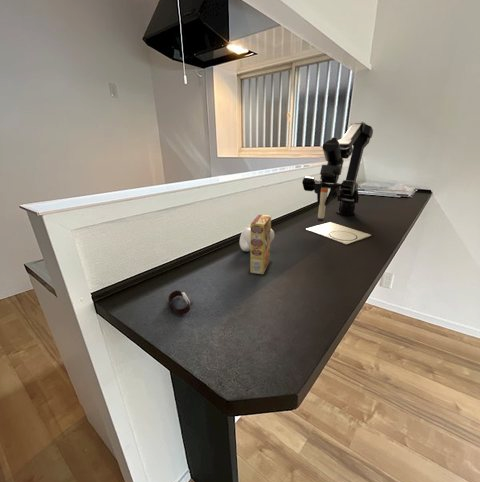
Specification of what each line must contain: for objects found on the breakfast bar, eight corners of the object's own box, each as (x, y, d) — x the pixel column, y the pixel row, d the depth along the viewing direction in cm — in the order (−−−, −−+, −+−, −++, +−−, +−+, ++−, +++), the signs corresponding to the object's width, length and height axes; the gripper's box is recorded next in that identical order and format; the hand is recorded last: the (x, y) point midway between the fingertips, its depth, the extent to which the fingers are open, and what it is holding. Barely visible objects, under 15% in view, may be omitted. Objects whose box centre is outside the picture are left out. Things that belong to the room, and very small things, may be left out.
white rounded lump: (230, 251, 91) (229, 226, 87) (252, 241, 99) (253, 218, 95) (255, 261, 84) (256, 234, 80) (277, 249, 92) (279, 225, 88)
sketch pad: (305, 229, 111) (305, 228, 111) (330, 222, 119) (330, 221, 119) (346, 244, 96) (346, 243, 96) (371, 235, 104) (371, 234, 104)
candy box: (263, 275, 76) (265, 224, 69) (249, 273, 77) (250, 223, 70) (269, 262, 83) (272, 215, 77) (256, 260, 84) (258, 214, 78)
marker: (315, 220, 102) (319, 188, 97) (320, 218, 104) (324, 187, 98) (320, 222, 101) (325, 189, 95) (325, 220, 102) (329, 188, 96)
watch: (195, 312, 60) (194, 299, 59) (176, 319, 58) (174, 305, 57) (183, 296, 66) (181, 283, 65) (164, 302, 64) (163, 289, 62)
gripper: (306, 154, 99) (293, 189, 95) (359, 157, 91) (347, 195, 87) (310, 173, 109) (298, 206, 105) (358, 177, 100) (347, 212, 96)
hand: (321, 204), depth 98 cm, fingers closed on marker, 2 cm apart
